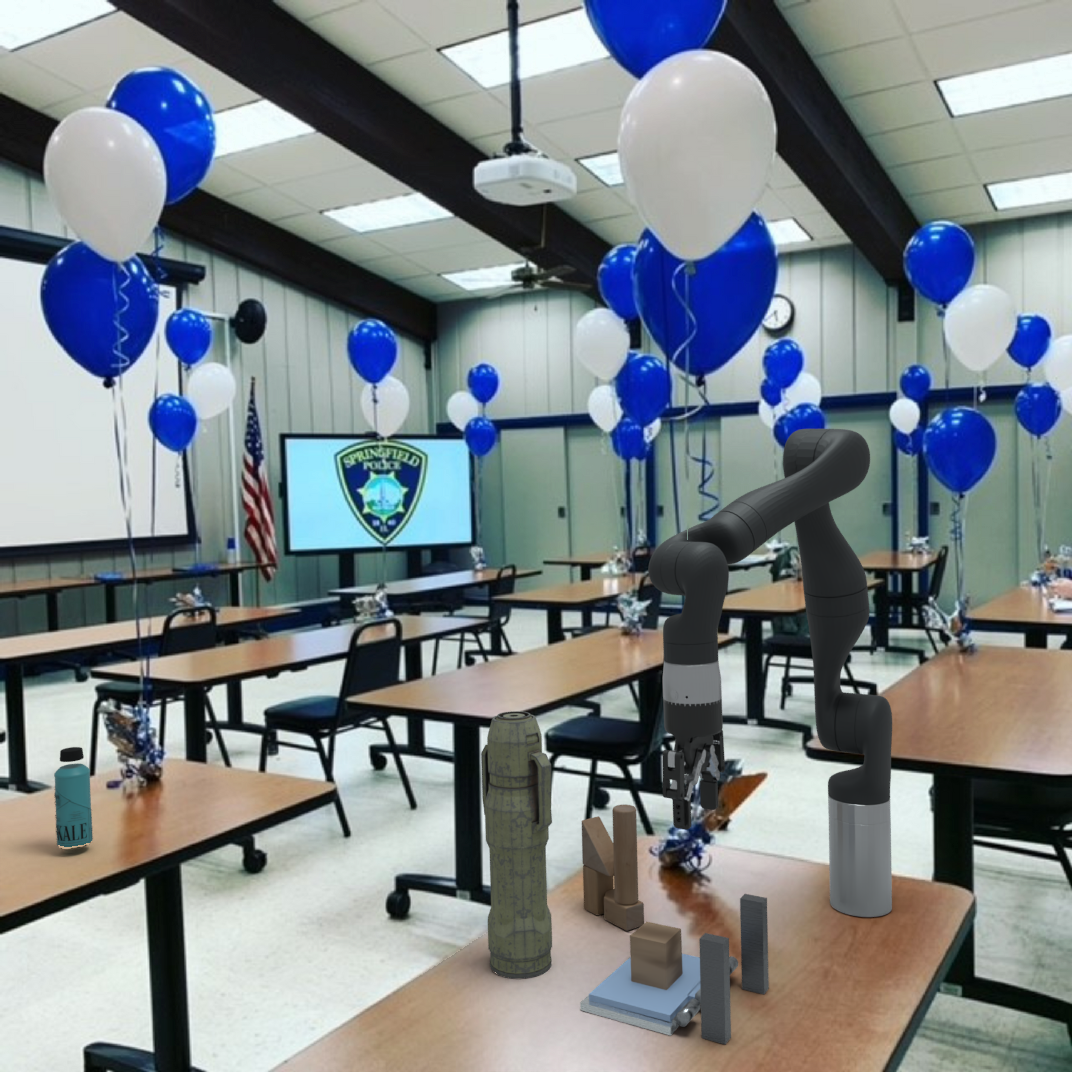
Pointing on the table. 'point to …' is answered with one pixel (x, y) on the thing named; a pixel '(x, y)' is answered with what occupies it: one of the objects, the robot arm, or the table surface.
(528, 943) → the thermos
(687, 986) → the pale blue flat slab
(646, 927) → the block
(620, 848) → the wooden block
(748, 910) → the base leaf
